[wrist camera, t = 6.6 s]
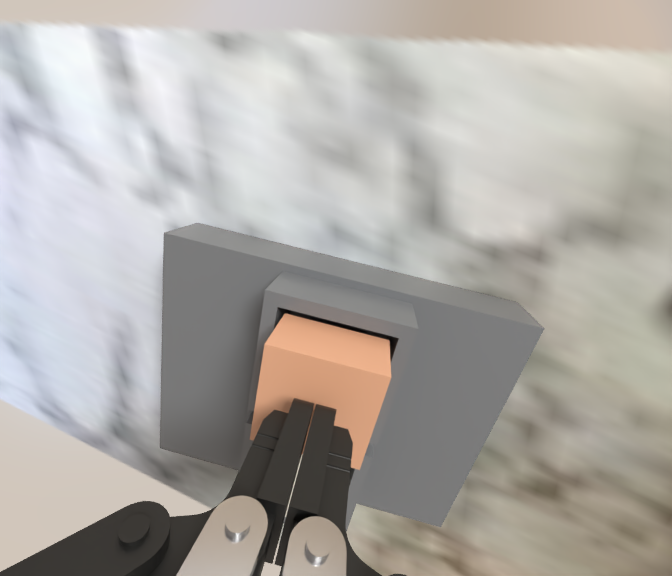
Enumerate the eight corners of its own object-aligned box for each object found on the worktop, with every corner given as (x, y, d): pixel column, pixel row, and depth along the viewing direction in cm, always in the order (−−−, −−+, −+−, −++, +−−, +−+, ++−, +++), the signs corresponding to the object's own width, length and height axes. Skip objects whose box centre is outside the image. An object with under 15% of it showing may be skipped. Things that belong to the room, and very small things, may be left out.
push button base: (517, 302, 17) (576, 359, 12) (432, 482, 22) (448, 575, 17) (197, 222, 18) (124, 244, 13) (186, 414, 23) (131, 484, 18)
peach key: (389, 340, 13) (391, 377, 11) (362, 422, 15) (359, 469, 12) (284, 313, 13) (264, 343, 11) (270, 396, 15) (249, 439, 13)
